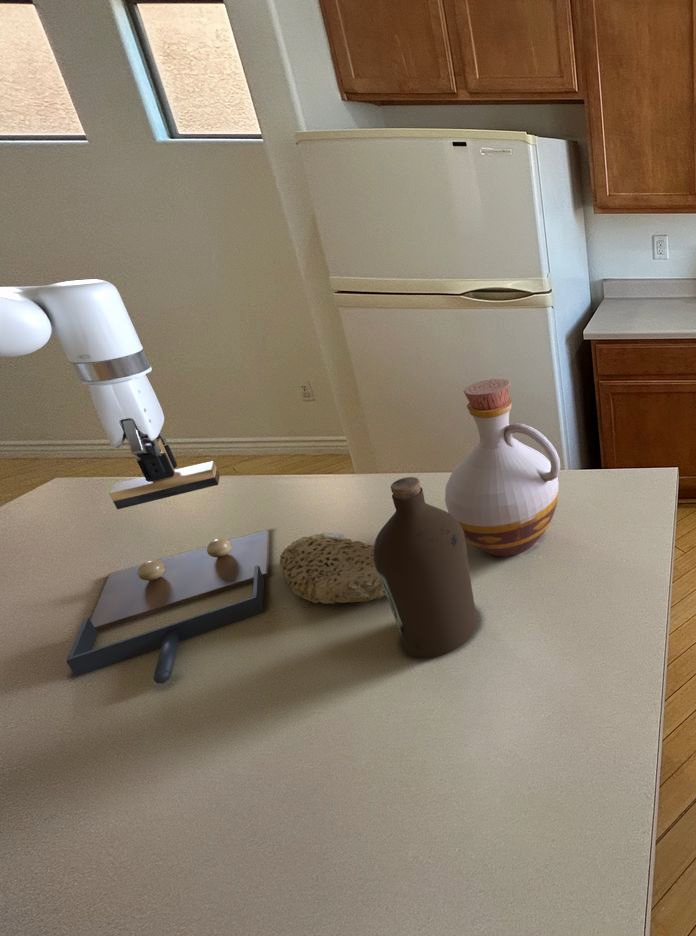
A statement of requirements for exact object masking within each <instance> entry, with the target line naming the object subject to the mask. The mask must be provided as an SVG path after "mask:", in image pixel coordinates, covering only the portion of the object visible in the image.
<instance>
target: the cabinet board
mask: <svg viewBox="0 0 696 936" xmlns="http://www.w3.org/2000/svg"><path fill="white" fill-rule="evenodd" d="M270 534H271V532H270V529H269V528H267V529H264V530H260V531H258V532H257V531H256V532H252V533H250V534H245V535H243V536H238V537H234V538H231V539H227V540H228V541H230V543H231V546H232V547H231V550H230V552H229V553H228V554H226V555H225V556H223V557H212V556H210V555H209V554H208V552H207V547H208V545H206V546H202V547H199V548H196V549H192V550H189V551H185V552H181V553H178V554H174V555H171V556H168V557H164V558H160V559H156V561H160V562H162V563H163V564H164V565H165V572H164V573H163V575H162V576H161V577H159V578H157V579H155V580H151V581H146V580H142V579H141V578H140V577H139V576H138V569H139V567H140V566H141V565H142V564H139V565H135V566H132V567H127V568H124V569H121V570H118V571H114V572H110V573H108V576H107V579H106V581H105V584H104V586H103V588H102V591H101V593H100V596H99V597H98V600H97V602H96V606H95V607H94V610H93V613H92V615H91V617H90V620H91V622H92V624H93V626H94V627H95V629H96V631H97V632H99V631H101V630H105V629H109V628H112V627H114V626H117V625H121V624H123V623H127V622H130V621H133V620H136V619H140V618H143V617H145V616H149V615H152V614H155V613H158V612H161V611H165V610H168V609H171V608H174V607H177V606H180V605H184V604H187V603H190V602H193V601H197V600H200V599H202V598H206V597H208V596H212V595H215V594H217V593H221V592H224V591H227V590H231V589H234V588H237V587H241V586H243V585H246V584H249V583H253V582H254V568H255V566H257V565H259V568H260V570H261V573H262V575H263V578H264V579H265V578H268V577H269V565H270V564H269V559H270Z"/></svg>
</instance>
